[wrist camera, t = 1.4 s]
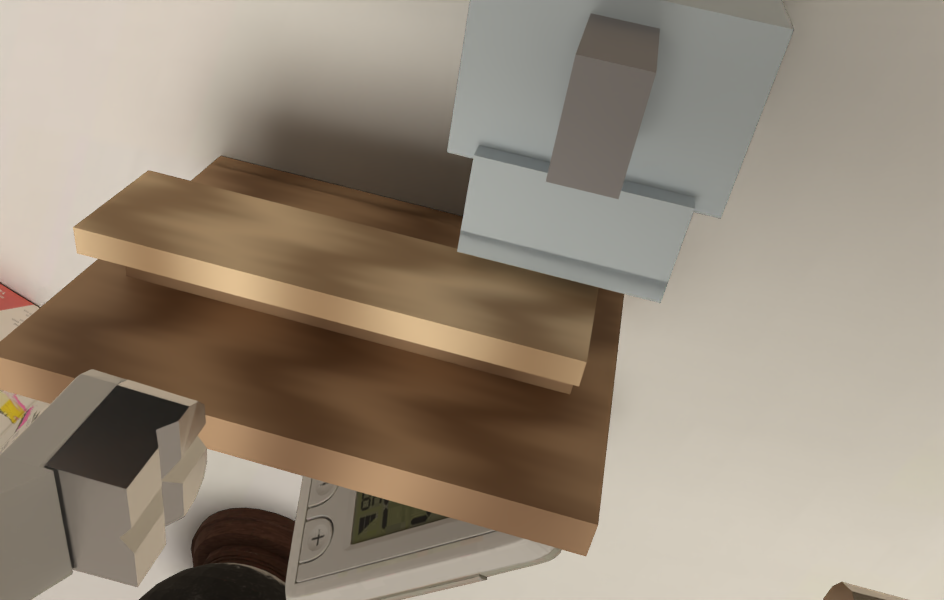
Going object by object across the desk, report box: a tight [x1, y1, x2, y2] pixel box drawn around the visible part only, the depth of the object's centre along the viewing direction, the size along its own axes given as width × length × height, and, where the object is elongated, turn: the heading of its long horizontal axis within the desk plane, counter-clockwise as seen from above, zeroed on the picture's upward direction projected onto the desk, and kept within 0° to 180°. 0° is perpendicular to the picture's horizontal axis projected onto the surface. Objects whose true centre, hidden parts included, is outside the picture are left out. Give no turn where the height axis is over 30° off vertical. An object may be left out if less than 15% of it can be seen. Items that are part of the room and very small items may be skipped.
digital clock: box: [285, 476, 562, 600], centre depth 41 cm, size 16×9×11 cm, turn 111°
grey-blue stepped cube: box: [447, 0, 794, 303], centre depth 27 cm, size 9×9×13 cm
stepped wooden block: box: [0, 156, 624, 556], centre depth 31 cm, size 20×7×16 cm, turn 81°
